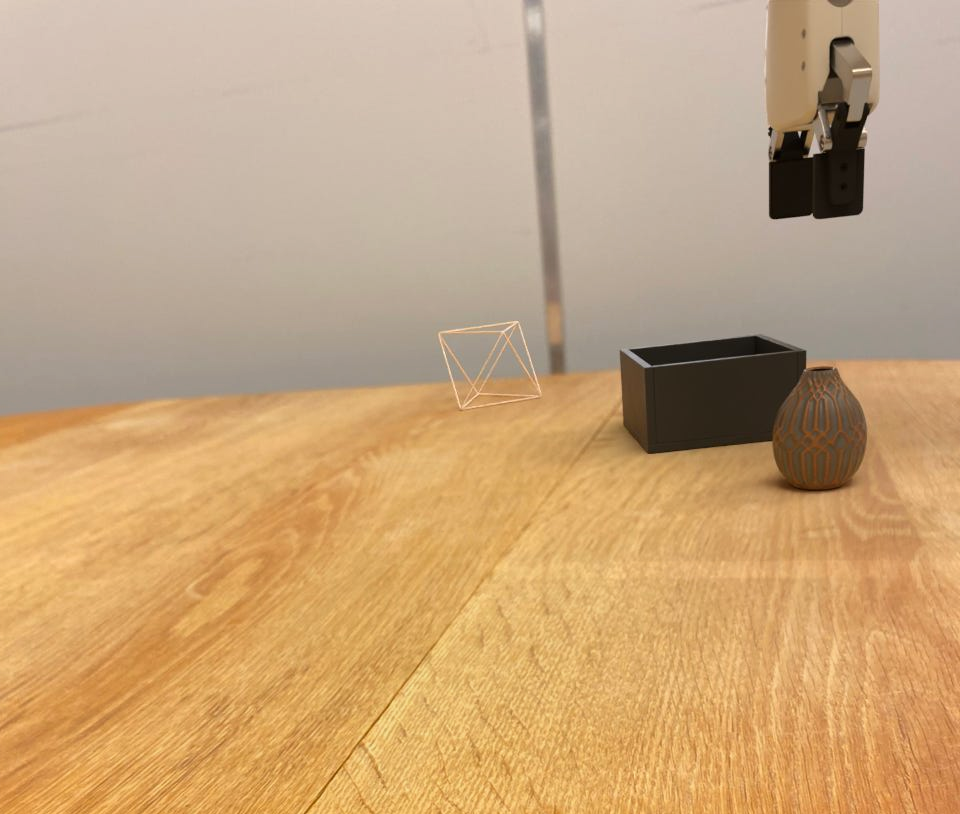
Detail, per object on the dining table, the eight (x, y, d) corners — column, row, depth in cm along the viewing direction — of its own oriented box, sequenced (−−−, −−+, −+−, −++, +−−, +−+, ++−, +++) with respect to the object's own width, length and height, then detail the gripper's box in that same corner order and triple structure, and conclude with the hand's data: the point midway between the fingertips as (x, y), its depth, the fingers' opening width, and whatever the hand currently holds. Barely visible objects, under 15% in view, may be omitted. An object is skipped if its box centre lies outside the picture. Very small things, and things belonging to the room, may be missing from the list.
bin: (761, 410, 112) (761, 334, 109) (805, 436, 98) (806, 350, 95) (623, 425, 112) (619, 349, 109) (648, 453, 98) (644, 367, 95)
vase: (867, 493, 78) (871, 373, 75) (770, 496, 80) (770, 379, 77) (863, 471, 84) (867, 358, 81) (773, 474, 87) (774, 364, 83)
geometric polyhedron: (439, 401, 139) (430, 330, 136) (517, 388, 142) (510, 318, 138) (467, 414, 128) (458, 337, 124) (551, 400, 131) (545, 324, 127)
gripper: (932, -112, 61) (917, 210, 67) (827, -42, 77) (823, 212, 83) (802, -97, 61) (799, 223, 67) (724, -31, 77) (728, 223, 83)
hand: (812, 217), depth 75 cm, fingers open, 9 cm apart
